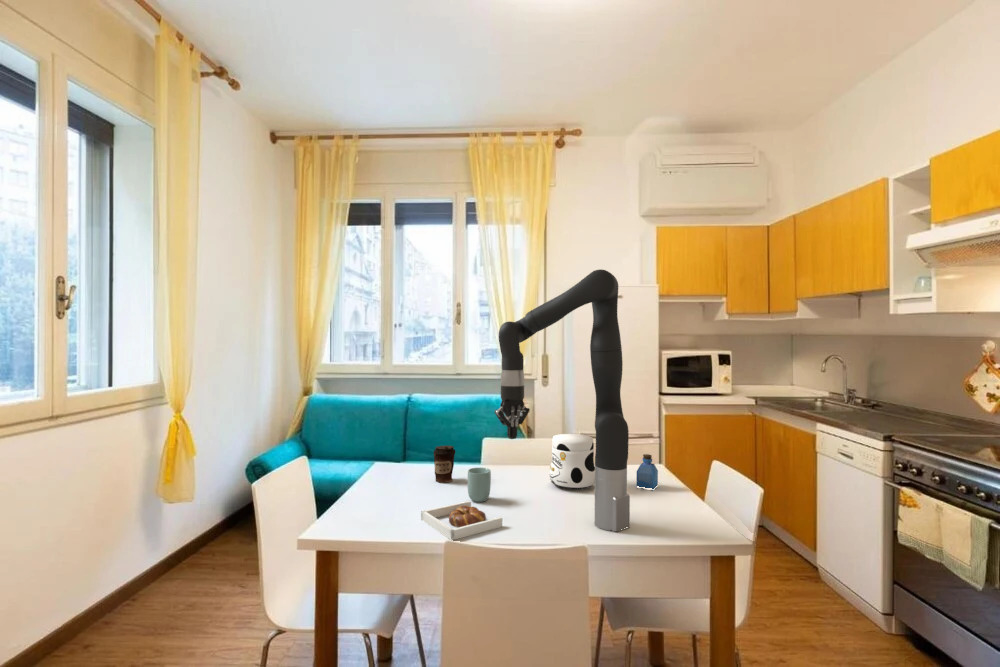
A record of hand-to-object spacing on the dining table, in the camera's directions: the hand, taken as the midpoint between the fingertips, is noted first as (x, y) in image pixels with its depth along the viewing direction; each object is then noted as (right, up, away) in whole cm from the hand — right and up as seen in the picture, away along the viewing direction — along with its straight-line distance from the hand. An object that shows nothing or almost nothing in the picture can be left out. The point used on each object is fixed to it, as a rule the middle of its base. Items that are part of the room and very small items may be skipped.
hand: (512, 438), depth 149 cm
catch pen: (-15, -22, -11) cm, 29 cm away
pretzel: (-14, -23, -10) cm, 29 cm away
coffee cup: (-25, -23, +31) cm, 46 cm away
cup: (-11, -23, +9) cm, 27 cm away
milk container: (+23, -24, +26) cm, 43 cm away
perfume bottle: (+51, -24, +25) cm, 62 cm away
